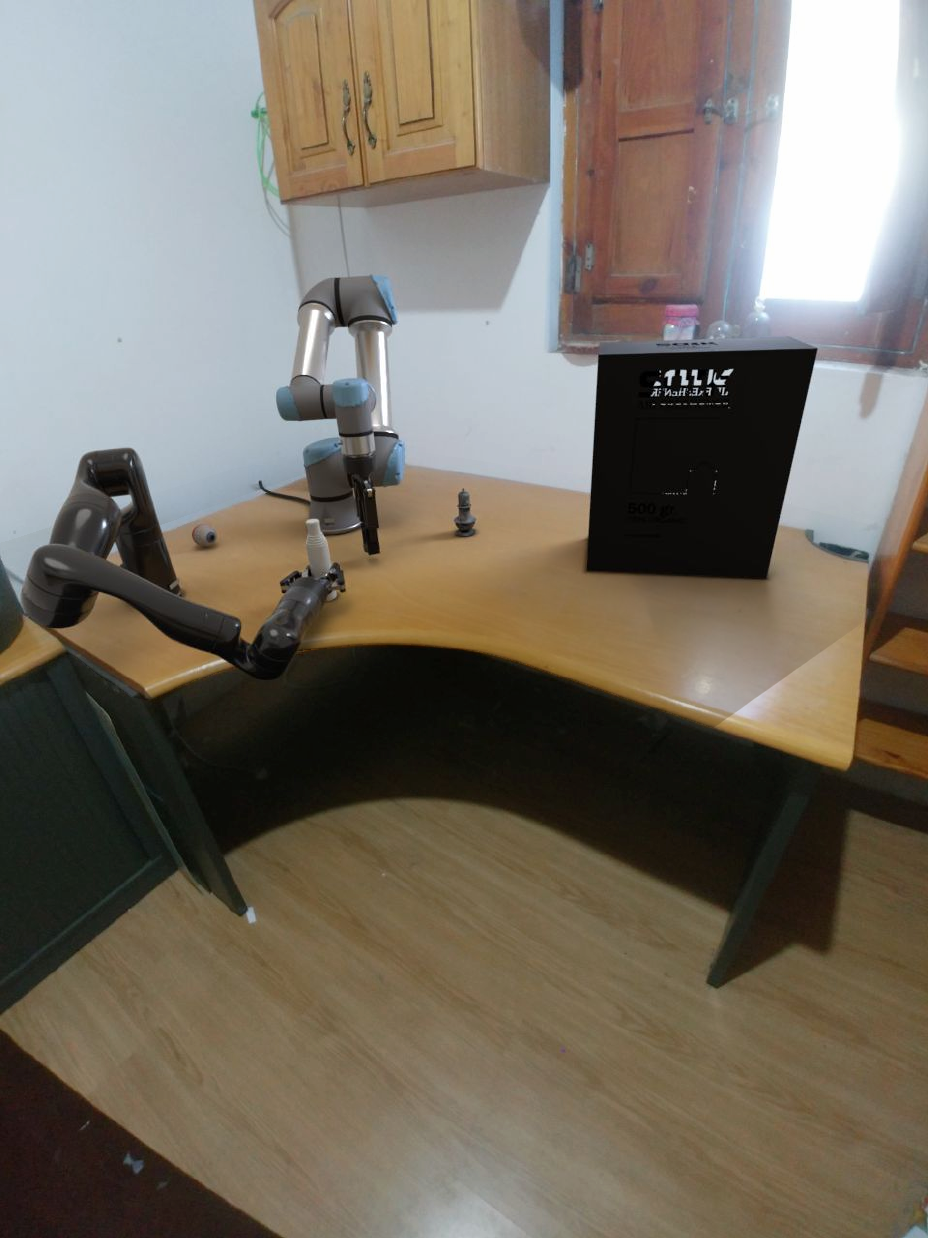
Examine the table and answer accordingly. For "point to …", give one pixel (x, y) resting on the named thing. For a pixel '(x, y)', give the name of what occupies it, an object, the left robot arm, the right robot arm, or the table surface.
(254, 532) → the table surface
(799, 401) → the cardboard box
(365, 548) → the cap
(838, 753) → the table surface
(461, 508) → the salt shaker
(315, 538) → the bottle
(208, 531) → the eyeball
